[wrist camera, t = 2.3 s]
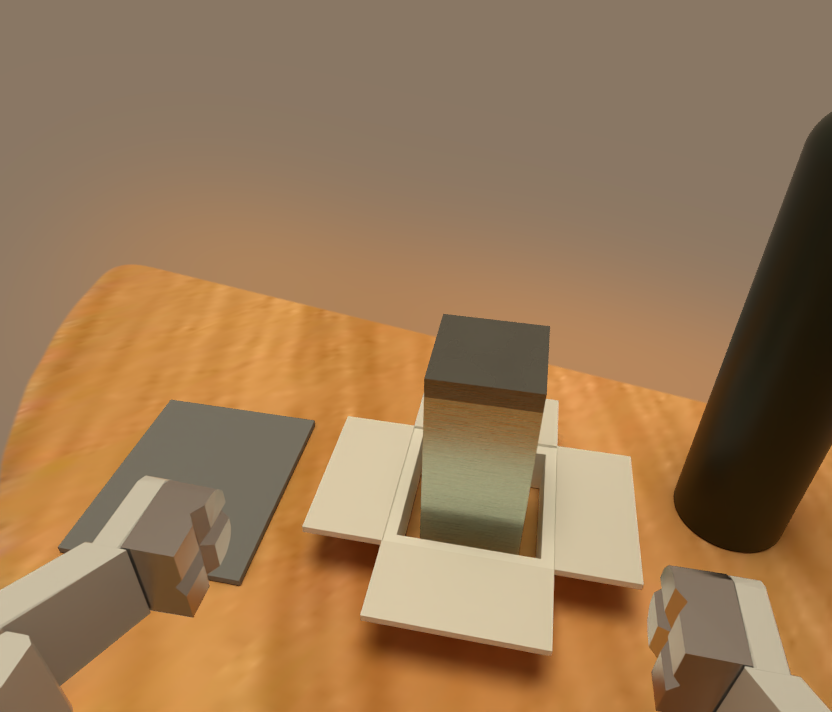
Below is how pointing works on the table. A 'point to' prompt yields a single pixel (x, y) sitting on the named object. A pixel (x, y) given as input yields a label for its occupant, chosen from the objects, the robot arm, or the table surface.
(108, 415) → the table surface
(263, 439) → the mat
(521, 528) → the tea tin
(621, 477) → the carton
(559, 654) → the table surface
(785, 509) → the wine bottle
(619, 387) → the table surface
